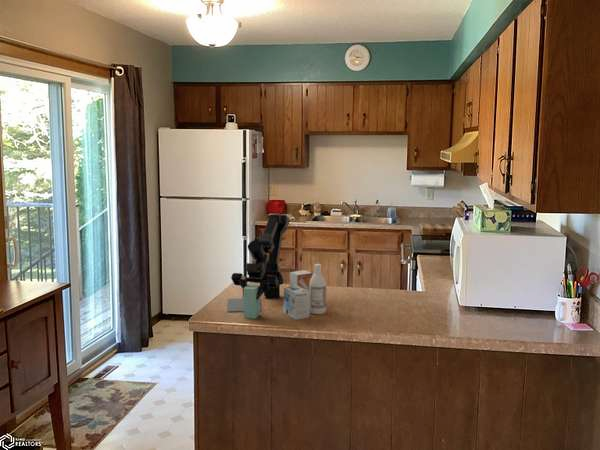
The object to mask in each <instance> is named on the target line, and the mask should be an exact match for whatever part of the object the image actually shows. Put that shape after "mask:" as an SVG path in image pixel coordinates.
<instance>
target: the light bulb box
mask: <svg viewBox="0 0 600 450" xmlns="http://www.w3.org/2000/svg"><path fill="white" fill-rule="evenodd" d="M309 297H310V291H307V290H305V289H303V288H301V287H299V286H291V287H290V286H286V287H283V314H286V315H287V316H288V317H290V318H291V319H292V320H295V321H296V320H303V319H307V318H310V312H309Z"/></svg>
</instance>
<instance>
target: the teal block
mask: <svg viewBox="0 0 600 450" xmlns="http://www.w3.org/2000/svg"><path fill="white" fill-rule="evenodd" d="M259 287H260V285H250V284H247V286H246V287H244V288H243V289H242V298H243V297H244V298H243V299H244V312H243V318H244V319H253V320H255V319H257V318H258V317H259V316H260V312H261V311H260V306H261V301H260V302H259V299H260V298H259V299H258V300H257V299H256V297H257V293H258V290H259Z"/></svg>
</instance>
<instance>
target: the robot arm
mask: <svg viewBox="0 0 600 450" xmlns="http://www.w3.org/2000/svg"><path fill="white" fill-rule="evenodd" d="M289 225H290V216H288V214H277V213H275V214H273V213H272V214H271V213H270V214H269V215H268V219H267V222H266V225H265V228H264V229H263V233H262V234H261V235H259V236H257V237H256V238H253V239H254V240H252V241H250V242H249V243H248V244H247V249H248V252H249V254H250V256H251V258H252V259H253V260H252V262H247V263H246V266H245V272H246V274H247V276H246V275H243V272H241V273H240V272H234V273H232V274H231V276H230V279H231V281H232V283H233V285H235V286H240V287H241V288H242V290H243V288H244V287H246V286H247V285H248V283H255V284H256V283H257V284H259V290H258V293H257V297H256V299H257V300H258V299H261V296H264V297H265V298H264V299H280V298H281V295H280V292H281V291H280V290H281V289H280V287H281V285H283V284H284V276H283V275H282V271H281V267H280V265H279V260H280V255H281V254H280V253H281V249H282V248H281V247H282V242H283V241H282V240H283V235H284V233H285V232H286V231H287V230H288V226H289ZM242 299H244V297H243V296H242Z"/></svg>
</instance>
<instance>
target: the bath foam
mask: <svg viewBox="0 0 600 450" xmlns="http://www.w3.org/2000/svg"><path fill="white" fill-rule="evenodd" d="M313 269H314V272H313V273H312V277H311V279H310V282H309V291H310V297H309V314H313V315H323V314H325V313H326V311H327V281H326V279H325V277H324V275H323V274H322V264H321V263H315V264H314V266H313Z"/></svg>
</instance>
